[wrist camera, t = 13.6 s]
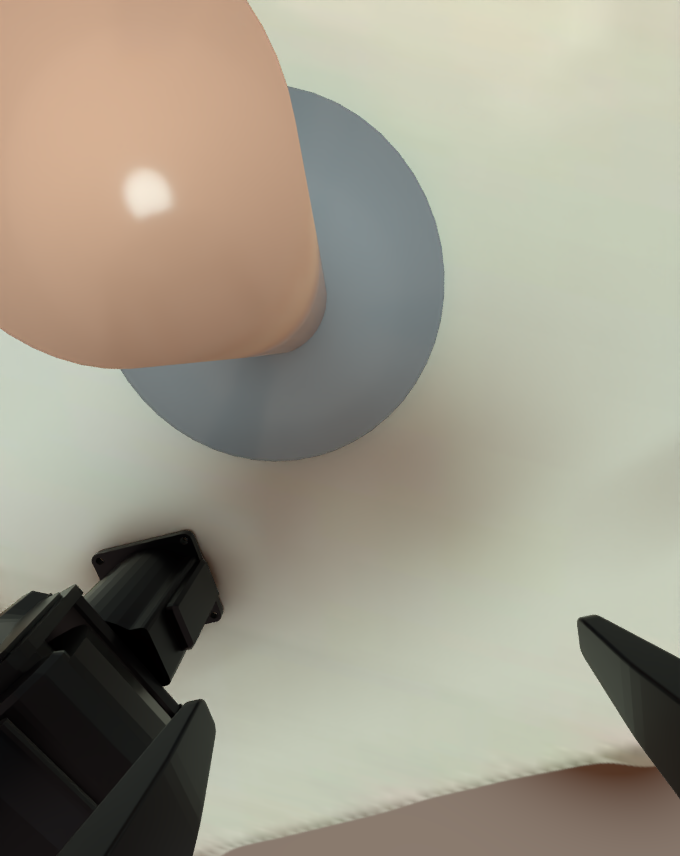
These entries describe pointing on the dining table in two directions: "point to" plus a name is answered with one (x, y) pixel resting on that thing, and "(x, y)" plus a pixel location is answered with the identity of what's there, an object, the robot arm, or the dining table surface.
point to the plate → (328, 310)
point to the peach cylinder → (151, 185)
